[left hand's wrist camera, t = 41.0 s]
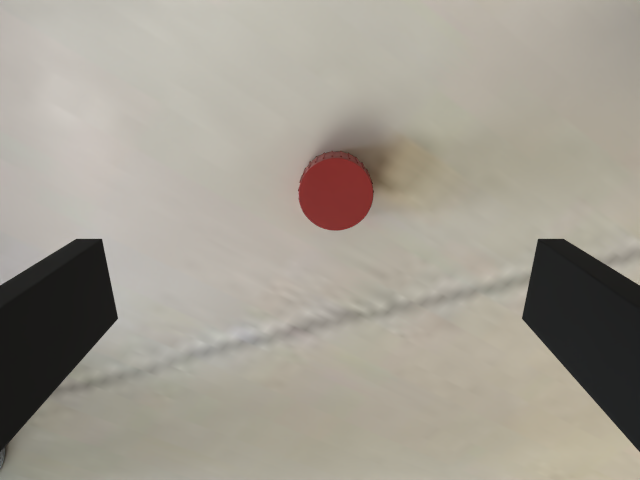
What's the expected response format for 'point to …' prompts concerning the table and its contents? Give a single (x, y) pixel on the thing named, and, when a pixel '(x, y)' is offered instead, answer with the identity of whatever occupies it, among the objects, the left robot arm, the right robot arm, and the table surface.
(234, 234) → the table surface
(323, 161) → the cap
